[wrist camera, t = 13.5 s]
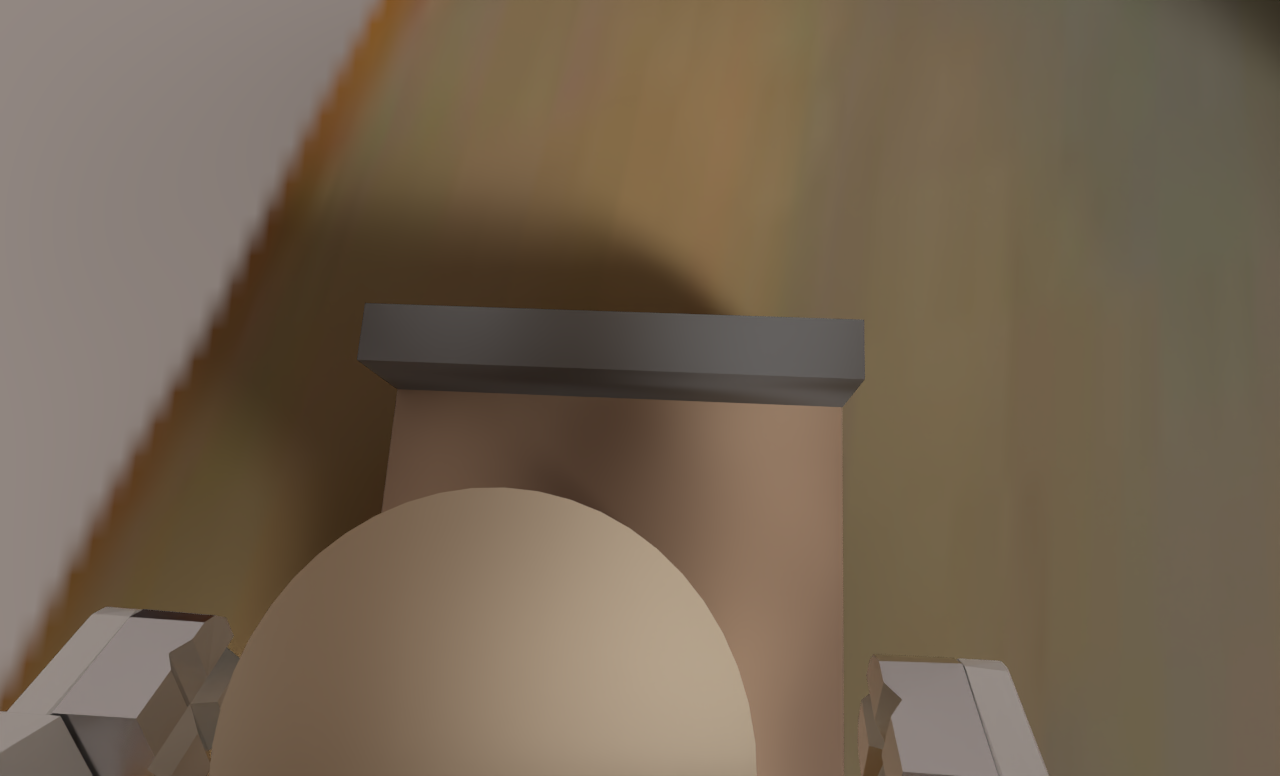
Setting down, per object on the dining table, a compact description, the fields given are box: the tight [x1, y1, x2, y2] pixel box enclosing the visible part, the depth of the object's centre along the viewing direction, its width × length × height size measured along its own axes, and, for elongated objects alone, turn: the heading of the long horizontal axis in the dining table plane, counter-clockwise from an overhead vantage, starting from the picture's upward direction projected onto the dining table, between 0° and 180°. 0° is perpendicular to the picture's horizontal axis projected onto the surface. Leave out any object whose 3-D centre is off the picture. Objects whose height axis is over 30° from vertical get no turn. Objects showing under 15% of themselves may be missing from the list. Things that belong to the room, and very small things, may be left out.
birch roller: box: [209, 487, 757, 776], centre depth 12 cm, size 5×5×10 cm
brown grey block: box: [357, 303, 865, 776], centre depth 18 cm, size 10×11×6 cm
